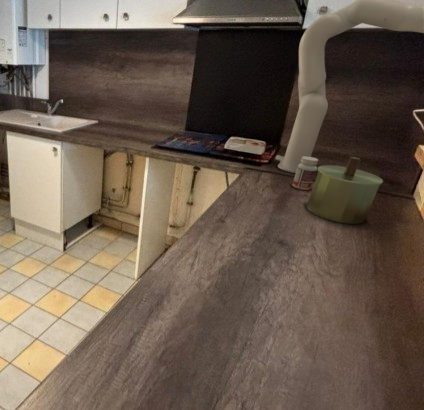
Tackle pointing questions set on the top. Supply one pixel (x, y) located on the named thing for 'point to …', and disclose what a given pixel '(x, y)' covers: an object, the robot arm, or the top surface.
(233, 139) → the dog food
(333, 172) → the tin lid
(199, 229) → the top surface
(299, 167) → the pill bottle
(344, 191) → the tin
